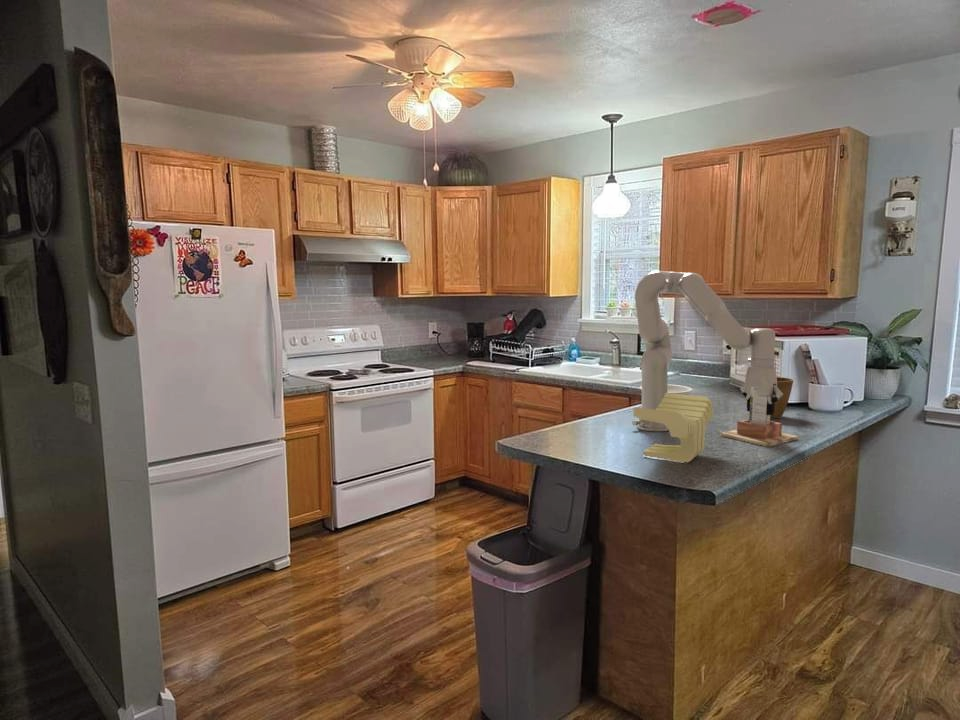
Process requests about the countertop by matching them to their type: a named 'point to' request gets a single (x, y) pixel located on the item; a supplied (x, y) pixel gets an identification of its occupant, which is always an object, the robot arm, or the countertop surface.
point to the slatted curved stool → (679, 425)
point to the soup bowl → (677, 389)
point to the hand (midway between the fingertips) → (760, 412)
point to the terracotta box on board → (759, 433)
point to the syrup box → (758, 408)
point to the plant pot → (781, 404)
